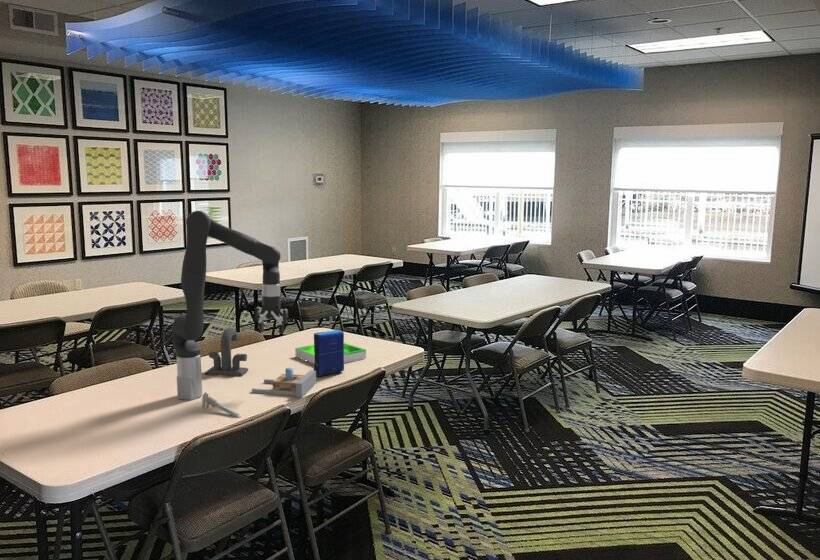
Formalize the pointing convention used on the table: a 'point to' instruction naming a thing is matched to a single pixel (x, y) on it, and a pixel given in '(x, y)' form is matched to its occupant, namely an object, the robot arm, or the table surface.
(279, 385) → the socket block
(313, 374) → the backstop
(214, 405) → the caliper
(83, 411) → the table surface
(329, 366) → the book
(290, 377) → the dowel
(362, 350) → the tray
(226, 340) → the faucet
